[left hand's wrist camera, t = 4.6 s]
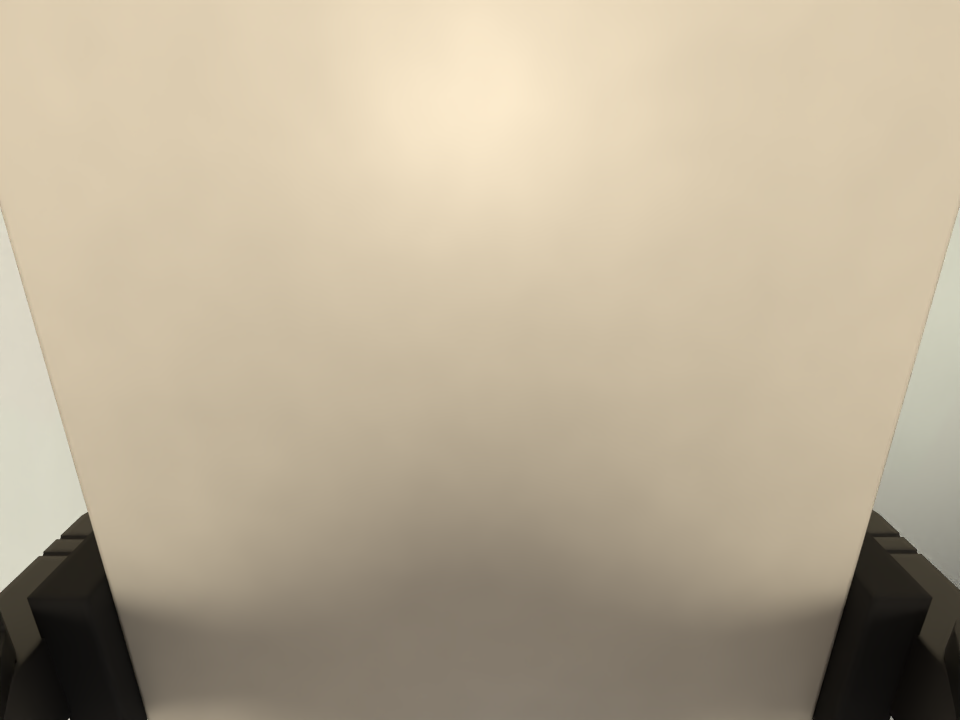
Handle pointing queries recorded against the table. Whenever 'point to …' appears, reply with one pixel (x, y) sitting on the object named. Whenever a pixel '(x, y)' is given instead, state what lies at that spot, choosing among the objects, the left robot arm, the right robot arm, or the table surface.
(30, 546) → the table surface
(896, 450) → the table surface
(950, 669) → the left robot arm
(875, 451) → the thick board
